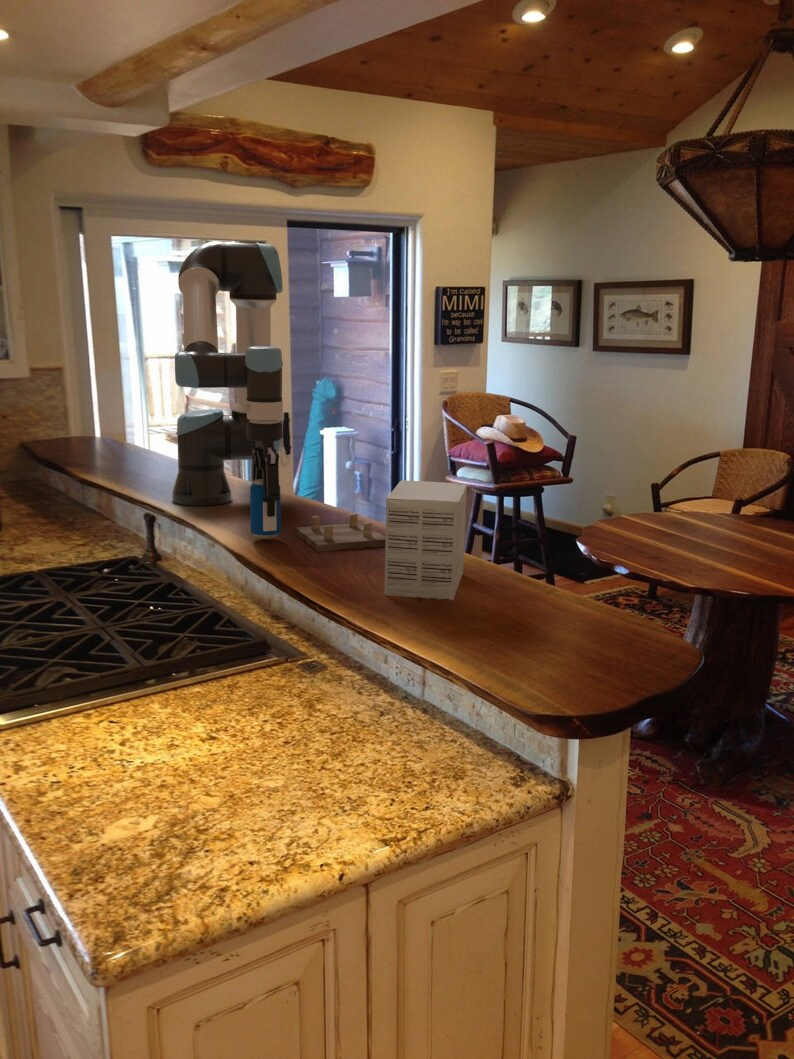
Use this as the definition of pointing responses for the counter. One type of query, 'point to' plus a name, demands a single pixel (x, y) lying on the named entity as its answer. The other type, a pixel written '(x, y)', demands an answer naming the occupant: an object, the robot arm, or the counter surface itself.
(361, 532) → the peg stand
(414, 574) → the supplement box
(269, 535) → the beverage can
